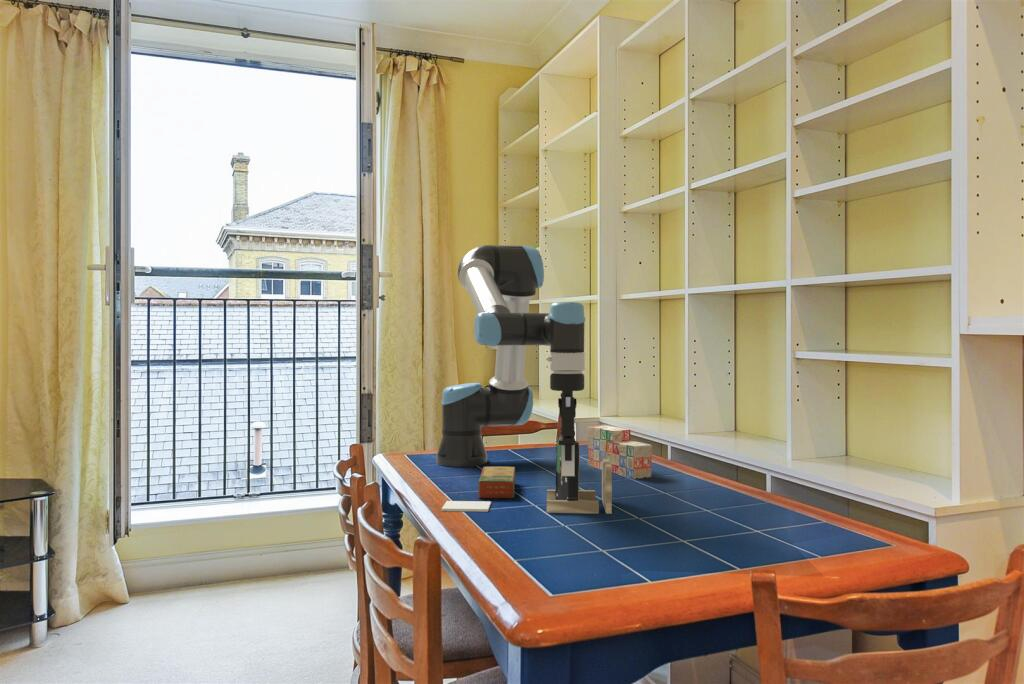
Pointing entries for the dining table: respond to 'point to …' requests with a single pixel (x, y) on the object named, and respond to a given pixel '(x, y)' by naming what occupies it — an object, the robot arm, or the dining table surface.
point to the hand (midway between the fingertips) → (567, 470)
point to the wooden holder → (585, 496)
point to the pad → (467, 506)
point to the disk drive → (567, 484)
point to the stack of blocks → (619, 451)
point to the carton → (497, 482)
